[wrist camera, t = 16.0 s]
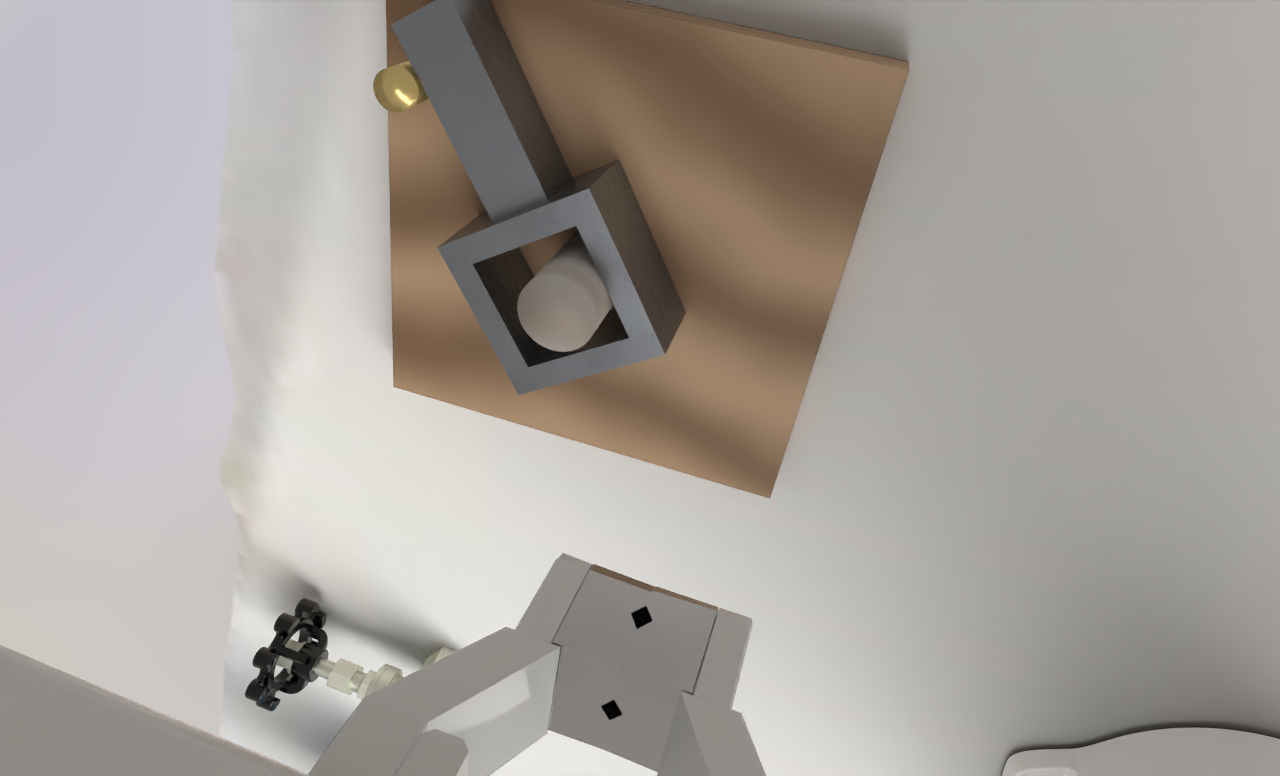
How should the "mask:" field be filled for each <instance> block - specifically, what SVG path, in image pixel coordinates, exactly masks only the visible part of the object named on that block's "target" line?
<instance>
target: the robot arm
mask: <svg viewBox="0 0 1280 776" xmlns="http://www.w3.org/2000/svg"><path fill="white" fill-rule="evenodd" d="M717 611H718V612H717ZM716 614H717V615H716ZM715 618H716V619H715ZM714 621H715V622H714ZM712 628H713V629H712ZM751 628H752V619H751V618H748V617H745V616H742V615H739V614H736V613H733V612H730V611H727V610H725V609H722V608H719V610H718V607H716V606H713V605H710V604H707V603H704V602H701V601H698V600H695V599H692V598H689V597H686V596H683V595H680V594H677V593H674V592H671V591H668V590H665V589H662V588H659V587H656V586H655V587H654V586H651V585H649V584H646V583H643V582H640V581H638V580H635V579H632V578H630V577H627V576H624V575H622V574H619V573H616V572H614V571H611V570H608V569H606V568H603V567H600V566H598V565H595V564H594V565H593V564H591V563H588V562H585V561H582V560H580V559H577V558H574V557H572V556H569V555H566V554H564V553H563V554H561V555H560V556H559V557H558V558H557V559H556V560H555V562H554V564H553V566H552V567H551V569H550V571H549V573H548V574H547V576H546V578H545V579H544V581H543V583H542V585H541V586H540V588H539V590H538V591H537V593H536V595H535V597H534V598H533V600H532V602H531V603H530V605H529V607H528V609H527V610H526V612H525V614H524V615H523V617H522V619H521V621H520V622H519V624H518V626H517V628H516V629H515V630H514V629H511V628H508V627H505V628H503V629H501V630H499V631H497V632H495V633H493V634H491V635H489V636H487V637H485V638H483V639H481V640H479V641H477V642H475V643H473V644H471V645H469V646H466V647H464V648H462V649H460V650H458V651H456V652H454V653H452V654H450V655H448V656H446V657H444V658H442V659H440V660H438V661H436V662H434V663H432V664H430V665H428V666H426V667H424V668H422V669H420V670H418V671H416V672H414V673H412V674H410V675H408V676H406V677H404V678H402V679H400V680H398V681H396V682H394V683H392V684H390V685H388V686H386V687H384V688H382V689H380V690H378V691H376V692H374V693H372V694H370V695H368V696H366V697H364V698H363V700H362V701H361V703H360V704H359V705H358V707H357V708H356V709H355V711H354V712H353V714H352V715H351V716H350V718H349V719H348V720H347V722H346V723H345V725H344V726H343V727H342V729H341V730H340V731H339V733H338V734H337V735H336V737H335V738H334V740H333V741H332V742H331V744H330V745H329V746H328V748H327V749H326V751H325V752H324V753H323V755H322V756H321V757H320V759H319V760H318V761H317V763H316V764H315V766H314V767H313V768H312V770H311V771H310V772H309V774H306V773H303V772H301V771H299V770H296V769H294V768H291V767H289V766H287V765H284V764H282V763H279V762H277V761H275V760H272V759H270V758H268V757H265V756H263V755H260V754H258V753H256V752H253V751H251V750H248V749H246V748H244V747H241V746H239V745H237V744H234V743H232V742H229V741H227V740H225V739H222V738H220V737H218V736H215V735H212V734H210V733H208V732H206V731H203V730H201V729H198V728H196V727H194V726H191V725H189V724H187V723H184V722H182V721H179V720H177V719H175V718H172V717H170V716H167V715H165V714H163V713H160V712H158V711H156V710H153V709H151V708H148V707H146V706H144V705H141V704H139V703H136V702H134V701H132V700H129V699H127V698H124V697H122V696H120V695H117V694H115V693H113V692H110V691H108V690H106V689H103V688H101V687H98V686H96V685H94V684H91V683H89V682H87V681H84V680H82V679H79V678H77V677H75V676H72V675H70V674H67V673H65V672H63V671H60V670H58V669H55V668H53V667H51V666H48V665H46V664H44V663H41V662H39V661H37V660H34V659H32V658H29V657H27V656H25V655H22V654H20V653H17V652H15V651H13V650H10V649H8V648H6V647H3V646H1V645H0V776H489V775H491V774H492V773H493V772H495V771H496V770H497V769H499V768H500V767H502V766H503V765H504V764H506V763H507V762H508V761H510V760H511V759H513V758H514V757H515V756H517V755H518V754H519V753H521V752H522V751H524V750H525V749H526V748H528V747H529V746H530V745H532V744H533V743H535V742H536V741H537V740H539V739H540V738H541V737H543V736H544V735H546V734H547V731H548V730H550V731H553V732H556V733H559V734H562V735H564V736H567V737H570V738H573V739H576V740H579V741H581V742H584V743H587V744H590V745H593V746H595V747H598V748H601V749H603V748H604V750H606V751H609V752H611V753H613V754H616V755H618V756H620V757H623V758H625V759H628V760H630V761H632V762H635V763H637V764H640V765H642V766H644V767H647V768H649V769H652V770H654V771H656V772H658V775H657V776H766V774H765V772H764V769H763V767H762V764H761V762H760V759H759V757H758V754H757V752H756V749H755V747H754V744H753V741H752V739H751V736H750V734H749V731H748V729H747V726H746V724H745V721H744V719H743V716H742V714H741V713H739V712H737V711H734V710H732V705H733V701H734V697H735V693H736V689H737V685H738V681H739V677H740V673H741V669H742V665H743V660H744V656H745V652H746V648H747V644H748V640H749V636H750V632H751ZM711 631H712V632H711ZM709 638H710V639H709ZM708 641H709V642H708ZM705 651H706V652H705ZM704 654H705V655H704ZM1002 776H1280V739H1278V738H1274V737H1269V736H1265V735H1261V734H1255V733H1250V732H1244V731H1237V730H1228V729H1217V728H1169V729H1159V730H1151V731H1144V732H1138V733H1133V734H1128V735H1124V736H1120V737H1117V738H1113V739H1110V740H1107V741H1103V742H1100V743H1097V744H1093V745H1089V746H1085V747H1081V748H1075V749H1042V750H1030V751H1023V752H1019V753H1016V754H1014V755H1012V756H1011V757H1010V758H1009V759H1008V760H1007V762H1006V764H1005V767H1004V770H1003V773H1002Z"/></svg>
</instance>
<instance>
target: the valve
mask: <svg viewBox="0 0 1280 776" xmlns="http://www.w3.org/2000/svg"><path fill="white" fill-rule="evenodd" d="M318 610H319V603H316V602H314V601H311V600H309V599H306V598H303V599H302V600H301V601H300V602H299V603H298V605H297V607H296V609H295V616H291V615H289V614H286V613H283V614H281V615H280V616H279V617H278V619H277V620H276V622H275V625H274V631H275V632H276V636H275V638H274V640H273V641H272V643H271V645H270V646H269V647H268V648H266V647H262V648H260V649H259V650H258V652H257V653H256V655H255V656H254V659H253V666H255V667H257V668H260V673H259V675H258V677H257V678H256V679H254V680H253V681H252V682H251V683H250V684H249V686H248V687H247V689H246V693H245V696H246V698H248V699H251V700H253V701H256V705H257V706H259V707H261V708H264V709H266V710H269V711H273V710H274V709H275V708H276V707H277V706H278V704H279V702H280V699H278V698H275V697H274V696H275V693H276V692H277V691H282V692H284V693H288V694H295V693H298V692H299V691H301V690H302V689H304V688H305V687H306V686H307V684H308V683H309V682H313V681H315V680H316V679H317V678H318V677H319V676H320V677H323V678H325V679H328V680H327V686H329V687H331V688H334V689H336V690H339V691H341V692H343V693H346V694H349V695H351V693H352V692H353V691H354V692H356V693H358V694H357V698H358V699H361V700H363V698H364V697H366V696H368V695H370V694H372V693H374V692H376V691H378V690H380V689H382V688H384V687H386V686H388V685H390V684H392V683H394V682H396V681H398V680H400V679H402V678H404V677H402V670H401V669H398V668H395V667H393V666H391V665H388V664H385V665H383V666H382V667H381V668H380V669H379V670H378V672H374V671H371V670H370V671H369V672H368V673H367V674H366V673H364V672H362V671H363V667H361V666H359V665H356V664H354V663H351V662H349V661H346V660H344V659H341V658H340V659H339V660H338V661H337V662H336V663H334V662H332V661H329V660H327V659H328V651H327V650H326V648H327V644H328V638H327V634H326V633H325V631H324V630H322V629H321V628H323V626H324V625H325V623H326V614H325V613H322V612H319V611H318ZM299 629H300V635H299V640H298V642H296V641H294V640H291V639H290V638H291V637H292V636H293V635H294V634H295V633H296V632H297V631H298V630H299ZM312 638H314V639H317V640H318V642H315V641H313V640H312ZM454 652H456V651H455V650H452V649H449V648H447V647H442V648H440V649H439V650H437V651H436V652H434V653H433V654H431V655H430V656H428V657H427V659H426V660H425V662H424V664H423V665H422V667H421V668H420V669H422V668H424V667H426V666H428V665H430V664H432V663H434V662H436V661H438V660H440V659H442V658H444V657H446V656H448V655H450V654H452V653H454ZM276 665H278V666H281V667H283V668H284V669H283V670H282V671H281V672H280V673H279V674H278V675H277V676H276V677H275V678H274V671H275V667H276Z"/></svg>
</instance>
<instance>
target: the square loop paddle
mask: <svg viewBox="0 0 1280 776" xmlns="http://www.w3.org/2000/svg"><path fill="white" fill-rule="evenodd" d="M391 26H392V28H393V30H394V32H395V34H396V36H397V38H398V40H399V42H400V44H401V46H402V48H403V50H404V51H405V53H406V55H407V57H408V59H409V61H410V63H411V65H412V67H413V69H414V71H415V73H416V75H417V77H418V79H419V81H420V83H421V84H422V86H423V88H424V90H425V92H426V94H427V96H428V98H429V100H430V102H431V104H432V106H433V108H434V110H435V112H436V114H437V115H438V117H439V119H440V121H441V123H442V125H443V127H444V129H445V131H446V133H447V135H448V137H449V139H450V141H451V143H452V145H453V146H454V148H455V150H456V152H457V154H458V156H459V158H460V160H461V162H462V164H463V166H464V168H465V170H466V172H467V174H468V176H469V178H470V179H471V181H472V183H473V185H474V187H475V189H476V191H477V193H478V195H479V197H480V199H481V201H482V203H483V205H484V207H485V209H486V210H487V212H486V213H483V214H481V215H478V216H477V217H476V218H475V219H473V220H472V221H471V222H469V223H468V224H467V225H465V226H464V227H463V228H462V229H460V230H459V231H458V232H456V233H455V234H454V235H453V236H451V237H450V238H449V239H447V240H446V241H445V242H444V243H442V244H441V245H440V246H438V247H437V248H438V250H439V252H440V253H441V255H442V257H443V259H444V261H445V262H446V264H447V266H448V268H449V270H450V272H451V273H452V275H453V277H454V279H455V281H456V282H457V284H458V286H459V288H460V290H461V291H462V293H463V295H464V297H465V299H466V301H467V302H468V304H469V306H470V308H471V310H472V311H473V313H474V315H475V317H476V319H477V320H478V322H479V324H480V326H481V328H482V330H483V331H484V333H485V335H486V337H487V339H488V340H489V342H490V344H491V346H492V348H493V349H494V351H495V353H496V355H497V357H498V359H499V360H500V362H501V364H502V366H503V368H504V369H505V371H506V373H507V375H508V377H509V378H510V380H511V382H512V384H513V386H514V387H515V389H516V391H517V393H518V395H521V394H525V393H528V392H532V391H536V390H539V389H543V388H547V387H550V386H554V385H557V384H561V383H565V382H568V381H572V380H576V379H579V378H583V377H587V376H590V375H594V374H597V373H601V372H605V371H608V370H612V369H616V368H619V367H623V366H627V365H630V364H634V363H638V362H641V361H645V360H648V359H652V358H656V357H659V356H663V355H665V354H666V352H667V350H668V348H669V346H670V344H671V342H672V340H673V338H674V336H675V334H676V332H677V330H678V328H679V326H680V324H681V322H682V320H683V318H684V316H685V314H686V311H685V309H684V306H683V304H682V302H681V299H680V297H679V295H678V293H677V290H676V288H675V286H674V283H673V281H672V279H671V276H670V274H669V272H668V270H667V267H666V265H665V263H664V260H663V258H662V256H661V253H660V251H659V249H658V247H657V244H656V242H655V240H654V237H653V235H652V233H651V230H650V228H649V226H648V224H647V221H646V219H645V217H644V214H643V212H642V210H641V207H640V205H639V203H638V201H637V198H636V196H635V194H634V191H633V189H632V187H631V184H630V182H629V180H628V178H627V175H626V173H625V171H624V168H623V166H622V164H621V161H620V159H618V160H616V161H613V162H611V163H608V164H606V165H603V166H601V167H598V168H596V169H593V170H591V171H588V172H586V173H583V174H581V175H578V176H576V177H572V175H571V173H570V171H569V168H568V166H567V164H566V162H565V160H564V158H563V156H562V153H561V151H560V149H559V147H558V145H557V143H556V140H555V138H554V136H553V134H552V132H551V130H550V127H549V125H548V123H547V121H546V119H545V117H544V114H543V112H542V110H541V108H540V106H539V104H538V102H537V99H536V97H535V95H534V93H533V91H532V89H531V86H530V84H529V82H528V80H527V78H526V76H525V73H524V71H523V69H522V67H521V65H520V63H519V60H518V58H517V56H516V54H515V52H514V50H513V48H512V45H511V43H510V41H509V39H508V37H507V35H506V32H505V30H504V28H503V26H502V24H501V22H500V19H499V17H498V15H497V13H496V11H495V9H494V6H493V4H492V2H491V0H435V1H433V2H431V3H429V4H427V5H426V6H424V7H422V8H420V9H418V10H417V11H415V12H413V13H411V14H409V15H408V16H406V17H404V18H402V19H400V20H399V21H397V22H395V23H393V24H391ZM575 226H577V228H578V230H579V233H580V235H581V237H582V239H583V241H584V243H585V245H586V247H587V249H588V252H589V254H590V256H591V258H592V260H593V262H594V264H595V266H596V269H597V271H598V273H599V275H600V277H601V279H602V281H603V283H604V285H605V288H606V290H607V292H608V294H609V296H610V298H611V300H612V302H613V304H614V307H615V310H611V311H609V312H608V313H607V315H606V316H605V318H604V319H603V321H602V322H601V323H600V325H599V326H598V328H597V329H596V331H595V332H594V334H593V335H592V337H591V338H590V339H589V341H588V342H587V343H586V344H585V345H583V346H582V347H580V348H578V349H576V350H573V351H567V352H560V351H554V350H550V349H547V348H545V347H543V346H541V345H540V344H538V343H537V342H535V341H534V340H533V339H532V338H531V337H530V336H529V335H528V334H527V333H526V331H525V330H524V328H523V327H522V325H521V322H520V320H519V317H518V311H517V303H518V298H519V295H520V293H521V291H522V290H523V288H524V287H525V286H526V285H527V284H528V283H529V282H530V281H531V280H532V279H533V278H534V275H533V273H532V271H531V269H530V267H529V265H528V263H527V261H526V259H525V257H524V255H523V253H522V251H521V249H520V246H523V245H526V244H528V243H531V242H534V241H537V240H539V239H542V238H545V237H547V236H550V235H553V234H556V233H558V232H561V231H564V230H566V229H569V228H572V227H575Z"/></svg>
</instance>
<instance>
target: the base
mask: <svg viewBox="0 0 1280 776" xmlns="http://www.w3.org/2000/svg"><path fill="white" fill-rule="evenodd" d="M433 1H435V0H386V21H387V68H389V67H392V66H395V65H398V64H401V63H404V62H407V61H409V59H408V57H407V55H406V53H405V51H404V50H403V48H402V46H401V44H400V42H399V40H398V38H397V36H396V34H395V32H394V30H393V28H392V26H391V24H393V23H395V22H397V21H399V20H400V19H402V18H404V17H406V16H408V15H409V14H411V13H413V12H415V11H417V10H418V9H420V8H422V7H424V6H426V5H427V4H429V3H431V2H433ZM491 2H492V4H493V6H494V9H495V11H496V13H497V15H498V17H499V19H500V22H501V24H502V26H503V28H504V30H505V32H506V35H507V37H508V39H509V41H510V43H511V45H512V48H513V50H514V52H515V54H516V56H517V58H518V60H519V63H520V65H521V67H522V69H523V71H524V73H525V76H526V78H527V80H528V82H529V84H530V86H531V89H532V91H533V93H534V95H535V97H536V99H537V102H538V104H539V106H540V108H541V110H542V112H543V114H544V117H545V119H546V121H547V123H548V125H549V127H550V130H551V132H552V134H553V136H554V138H555V140H556V143H557V145H558V147H559V149H560V151H561V153H562V156H563V158H564V160H565V162H566V164H567V166H568V168H569V171H570V173H571V175H572V177H576V176H578V175H581V174H583V173H586V172H588V171H591V170H593V169H596V168H598V167H601V166H603V165H606V164H608V163H611V162H613V161H616V160H618V159H620V161H621V164H622V166H623V168H624V171H625V173H626V175H627V178H628V180H629V182H630V184H631V187H632V189H633V191H634V194H635V196H636V198H637V201H638V203H639V205H640V207H641V210H642V212H643V214H644V217H645V219H646V221H647V224H648V226H649V228H650V230H651V233H652V235H653V237H654V240H655V242H656V244H657V247H658V249H659V251H660V253H661V256H662V258H663V260H664V263H665V265H666V267H667V270H668V272H669V274H670V276H671V279H672V281H673V283H674V286H675V288H676V290H677V293H678V295H679V297H680V299H681V302H682V304H683V306H684V309H685V311H686V314H685V316H684V318H683V320H682V322H681V324H680V326H679V328H678V330H677V332H676V334H675V336H674V338H673V340H672V342H671V344H670V346H669V348H668V350H667V352H666V354H665V355H663V356H659V357H656V358H652V359H648V360H645V361H641V362H638V363H634V364H630V365H627V366H623V367H619V368H616V369H612V370H608V371H605V372H601V373H597V374H594V375H590V376H587V377H583V378H579V379H576V380H572V381H568V382H565V383H561V384H557V385H554V386H550V387H547V388H543V389H539V390H536V391H532V392H528V393H525V394H521V395H518V393H517V391H516V389H515V387H514V386H513V384H512V382H511V380H510V378H509V377H508V375H507V373H506V371H505V369H504V368H503V366H502V364H501V362H500V360H499V359H498V357H497V355H496V353H495V351H494V349H493V348H492V346H491V344H490V342H489V340H488V339H487V337H486V335H485V333H484V331H483V330H482V328H481V326H480V324H479V322H478V320H477V319H476V317H475V315H474V313H473V311H472V310H471V308H470V306H469V304H468V302H467V301H466V299H465V297H464V295H463V293H462V291H461V290H460V288H459V286H458V284H457V282H456V281H455V279H454V277H453V275H452V273H451V272H450V270H449V268H448V266H447V264H446V262H445V261H444V259H443V257H442V255H441V253H440V252H439V250H438V248H437V247H438V246H440V245H441V244H442V243H444V242H445V241H446V240H447V239H449V238H450V237H451V236H453V235H454V234H455V233H456V232H458V231H459V230H460V229H462V228H463V227H464V226H465V225H467V224H468V223H469V222H471V221H472V220H473V219H475V218H476V217H477V216H478V215H481V214H483V213H486V212H487V210H486V209H485V207H484V205H483V203H482V201H481V199H480V197H479V195H478V193H477V191H476V189H475V187H474V185H473V183H472V181H471V179H470V178H469V176H468V174H467V172H466V170H465V168H464V166H463V164H462V162H461V160H460V158H459V156H458V154H457V152H456V150H455V148H454V146H453V145H452V143H451V141H450V139H449V137H448V135H447V133H446V131H445V129H444V127H443V125H442V123H441V121H440V119H439V117H438V115H437V114H436V112H435V110H434V108H433V106H432V104H431V102H430V100H427V101H425V102H423V103H421V104H418V105H416V106H414V107H412V108H409V109H407V110H405V111H403V112H399V113H395V112H391V111H388V124H389V176H390V227H391V279H392V330H393V382H394V387H396V388H399V389H403V390H406V391H410V392H413V393H416V394H420V395H423V396H426V397H430V398H433V399H437V400H440V401H443V402H447V403H450V404H453V405H457V406H460V407H464V408H467V409H470V410H474V411H477V412H480V413H484V414H487V415H490V416H494V417H497V418H501V419H504V420H507V421H511V422H514V423H517V424H521V425H524V426H528V427H531V428H534V429H538V430H541V431H544V432H548V433H551V434H555V435H558V436H561V437H565V438H568V439H571V440H575V441H578V442H582V443H585V444H588V445H592V446H595V447H598V448H602V449H605V450H609V451H612V452H615V453H619V454H622V455H625V456H629V457H632V458H636V459H639V460H642V461H646V462H649V463H652V464H656V465H659V466H663V467H666V468H669V469H673V470H676V471H679V472H683V473H686V474H690V475H693V476H696V477H700V478H703V479H706V480H710V481H713V482H717V483H720V484H723V485H727V486H730V487H733V488H737V489H740V490H744V491H747V492H750V493H754V494H757V495H760V496H764V497H767V498H770V496H771V493H772V490H773V487H774V484H775V481H776V478H777V475H778V472H779V469H780V466H781V463H782V459H783V456H784V453H785V450H786V447H787V444H788V441H789V438H790V435H791V432H792V429H793V426H794V423H795V419H796V416H797V413H798V410H799V407H800V404H801V401H802V398H803V395H804V392H805V389H806V386H807V383H808V379H809V376H810V373H811V370H812V367H813V364H814V361H815V358H816V355H817V352H818V349H819V346H820V343H821V339H822V336H823V333H824V330H825V327H826V324H827V321H828V318H829V315H830V312H831V309H832V306H833V303H834V299H835V296H836V293H837V290H838V287H839V284H840V281H841V278H842V275H843V272H844V269H845V266H846V263H847V259H848V256H849V253H850V250H851V247H852V244H853V241H854V238H855V235H856V232H857V229H858V226H859V223H860V219H861V216H862V213H863V210H864V207H865V204H866V201H867V198H868V195H869V192H870V189H871V186H872V183H873V179H874V176H875V173H876V170H877V167H878V164H879V161H880V158H881V155H882V152H883V149H884V146H885V143H886V139H887V136H888V133H889V130H890V127H891V124H892V121H893V118H894V115H895V112H896V109H897V106H898V103H899V99H900V96H901V93H902V90H903V87H904V84H905V81H906V78H907V75H908V72H909V62H907V61H902V60H898V59H893V58H888V57H884V56H879V55H874V54H870V53H865V52H860V51H856V50H851V49H846V48H842V47H837V46H833V45H828V44H823V43H819V42H814V41H809V40H805V39H800V38H795V37H791V36H786V35H781V34H777V33H772V32H767V31H763V30H758V29H754V28H749V27H744V26H740V25H735V24H730V23H726V22H721V21H716V20H712V19H707V18H702V17H698V16H693V15H688V14H684V13H679V12H675V11H670V10H665V9H661V8H656V7H651V6H647V5H642V4H637V3H633V2H628V1H623V0H491ZM520 249H521V251H522V253H523V255H524V257H525V259H526V261H527V263H528V265H529V267H530V269H531V271H532V273H533V275H534V278H533V279H532V280H531V281H530V282H529V283H528V284H527V285H526V286H525V287H524V288H523V290H522V291H521V293H520V295H519V298H518V303H517V311H518V317H519V320H520V322H521V325H522V327H523V328H524V330H525V331H526V333H527V334H528V335H529V336H530V337H531V338H532V339H533V340H534V341H535V342H537V343H538V344H540V345H541V346H543V347H545V348H547V349H550V350H554V351H560V352H567V351H573V350H576V349H578V348H580V347H582V346H583V345H585V344H586V343H587V342H588V341H589V339H590V338H591V337H592V335H593V334H594V332H595V331H596V329H597V328H598V326H599V325H600V323H601V322H602V321H603V319H604V318H605V316H606V315H607V313H608V312H609V311H611V310H615V307H614V304H613V302H612V300H611V298H610V296H609V294H608V292H607V290H606V288H605V285H604V283H603V281H602V279H601V277H600V275H599V273H598V271H597V269H596V266H595V264H594V262H593V260H592V258H591V256H590V254H589V252H588V249H587V247H586V245H585V243H584V241H583V239H582V237H581V235H580V233H579V230H578V228H577V226H575V227H572V228H569V229H566V230H564V231H561V232H558V233H556V234H553V235H550V236H547V237H545V238H542V239H539V240H537V241H534V242H531V243H528V244H526V245H523V246H520Z"/></svg>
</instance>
